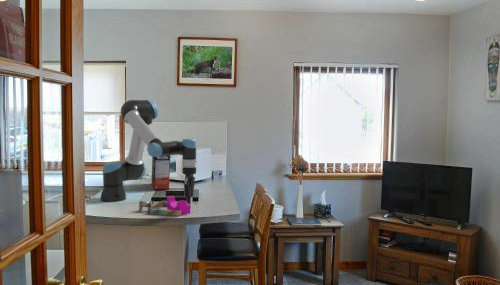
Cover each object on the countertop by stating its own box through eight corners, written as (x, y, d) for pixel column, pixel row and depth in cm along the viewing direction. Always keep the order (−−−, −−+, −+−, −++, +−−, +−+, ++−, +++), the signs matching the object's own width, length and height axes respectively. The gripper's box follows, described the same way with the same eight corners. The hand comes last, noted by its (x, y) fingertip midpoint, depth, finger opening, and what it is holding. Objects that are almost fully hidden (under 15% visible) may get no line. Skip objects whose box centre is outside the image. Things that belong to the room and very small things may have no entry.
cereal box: (169, 190, 291) (171, 144, 289) (153, 190, 288) (154, 144, 286) (166, 183, 317) (167, 141, 314) (150, 183, 313) (151, 141, 311)
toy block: (190, 213, 228) (190, 200, 228) (180, 215, 224) (180, 201, 224) (176, 208, 240) (176, 195, 239) (167, 209, 236) (166, 196, 235)
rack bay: (148, 213, 226) (147, 208, 226) (162, 205, 246) (162, 200, 246) (180, 215, 223) (180, 210, 222) (192, 207, 242) (192, 201, 242)
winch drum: (138, 210, 232) (138, 202, 232) (142, 209, 237) (142, 200, 236) (150, 211, 231) (150, 202, 230) (153, 209, 235) (153, 200, 235)
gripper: (191, 168, 223) (191, 211, 225) (199, 165, 236) (199, 206, 238) (178, 168, 224) (178, 210, 226) (186, 164, 237) (187, 205, 239)
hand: (189, 208), depth 232 cm, fingers closed
